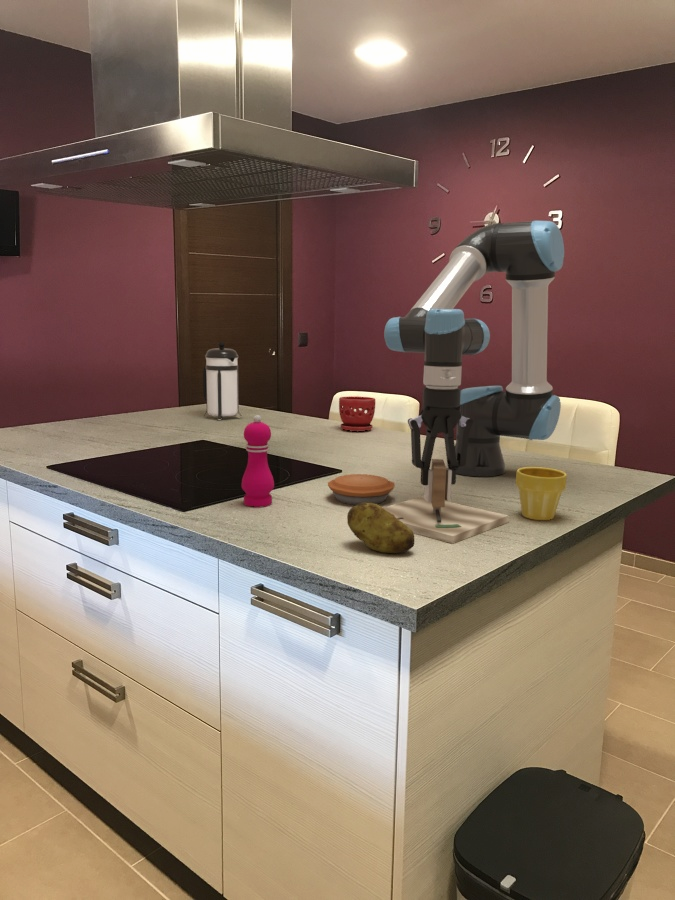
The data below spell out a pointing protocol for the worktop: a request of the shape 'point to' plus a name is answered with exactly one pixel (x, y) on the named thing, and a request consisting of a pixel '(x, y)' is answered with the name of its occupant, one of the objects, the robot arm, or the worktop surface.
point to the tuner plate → (445, 519)
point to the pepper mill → (257, 465)
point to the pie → (361, 488)
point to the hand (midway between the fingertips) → (437, 499)
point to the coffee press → (221, 382)
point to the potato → (379, 529)
